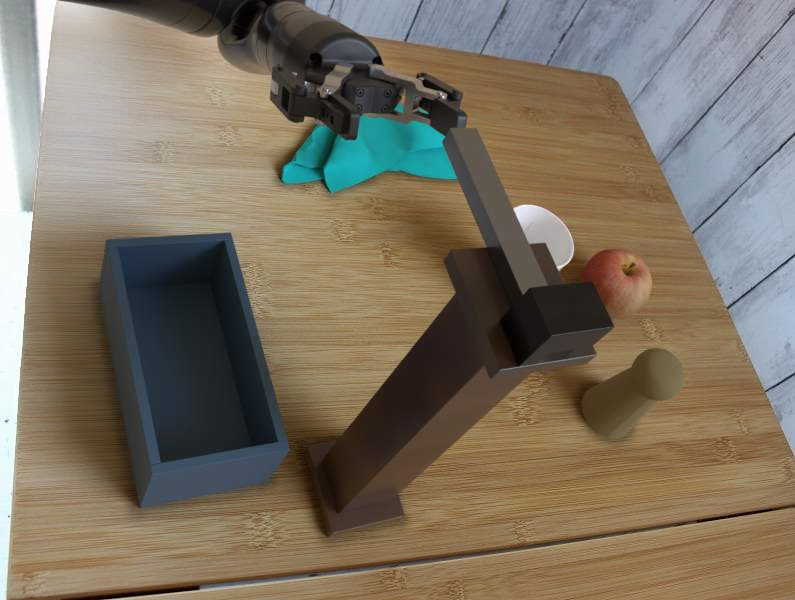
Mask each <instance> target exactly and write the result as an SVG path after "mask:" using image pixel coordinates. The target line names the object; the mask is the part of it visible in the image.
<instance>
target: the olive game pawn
mask: <svg viewBox="0 0 795 600" xmlns="http://www.w3.org/2000/svg"><path fill="white" fill-rule="evenodd" d="M685 383H686V371H685V367H684V365H683V363H682V362H681V361H680V360H679V358H678V357H677V355H675V354H674V353H672V352H671V351H669V350H668V349H665V348H660V347H653V348H648V349H645V350H643V351H642V352H640V353H639V354H638V355H637V356H636V358H635V359H634V360H633V362H632V363H631V366H630V367H629V368H626V369H625V370H622V371H621V372H619V373H617V374H615V375H613V376H610V377H609V378H607V379H605V380H603V381H601V382H599V383H598V384H596V385H594V386H591V387H590V388H589V389H587V390H586V391H585V392H584V393H583V395H582V397H581V402H580V406H581V413H582V415H583V418H584V420H585V422H586V423H587V424H588V426H589V427H590V428H591V429H592V430H593V431H594V432H595V433H596V434H598V435H600V436H601V437H603V438H605V439H611V440H615V439H621V438H622V437H624V436H625V435H627V433H629V432H630V430H632V428H634V427H635V426H636V425H637V424H638V422H640V421H641V420H642V419H643V418H644V417H645V416H646V415H647V414H648V413H649V412H650V411H651V410H652V409H653V407H655V406H656V405H657V403H658V402H662V401H663V402H664V401H668V400H671V399H673V398H674V397H676V396H677V395H678V394H680V393H681V391H682V390H683V389H684V386H685Z"/></svg>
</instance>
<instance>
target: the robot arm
mask: <svg viewBox="0 0 795 600" xmlns="http://www.w3.org/2000/svg"><path fill="white" fill-rule="evenodd" d="M57 1H59V2H65V3H70V4H72V3H73V4H77V5H82V6H83V5H84V6H89V7H95V8H101V9H104V10H109V11H115V12H118V13H122V14H127V15H130V16H133V17H137V18H140V19H143V20H146V21H149V22H153V23H155V24H158V25H161V26H164V27H166V28H170V29H173V30H176V31H179V32H181V33H182V32H183V33H186V34H188V35H192V36H194V37H200V38H212V37H215V36H216V44H217V49H218V51H219V54H220V56H221V57H222V58H223V59H224V60H225V61H226V62H227V63H228V64H230V65H231V66H233V67H234V68H236V69H238V70H240V71H244V72H246V73H249V74H254V75H259V76H271V78H270V90H269V101H270V102H271V103H273V105H274V107H276V108H277V109H278V111H279V112H280V113H281V114H282V115H283V116H284V117H285V119H286V120H287V121H289V122H292V123H294V124H299V123H303V122H305V118H306V117H307V118H313V124H316V125H317V124H318V125H320V126H328V128H330V129H331V130H332V131H333V132H335V133H337V134H338V135H340V136H341V137H342V138H343V139H344V140H356V139H357V136H358V128H359V121H360V117H361V116H362V115H364V116H368V117H371V118H377V117H382V118H385V119H389V120H392V121H395V122H399V123H402V124H409V123H411V122H413V121H417V122H421V123H424V124H428V125H430V126H431V127H432V128H434V129H435V130H436V131H438V132H439V133H441V134H442V135H444V136H446V134H447V133H448V131H449V130H450V128H467V123H468V117H469V116H468V114H467V113H466V112H465V111H464V110H463V109H462V108H461V103H462V100H463V97H464V92H462V91H461V90H459V89H457V88H456V87H454V86H452V85H449V83H446V82H445V81H442V80H440V79H439V78H437V77H435V76H433V75H432V74H430V73H427V72H425V71H421V72H417V73H416V76H415V77H413V76H409V75H405V74H402V73H398V72H395V71H392V70H391V68H390V67H388V66H385V64H384V61H383V59H382V56H381V53H380V52H379V50H378V49H377V47H376V46H375V45H374V44H373V42H372V41H371V40H369V39H368V38H367V37H365V36H364V35H362V34H360V33H359V32H357V31H355V30H353V28H350V27H348V26H347V25H345V24H343V23H342V22H340V21H338V20H337V19H335V18H333V17H331V16H328V15H326V14H322V13H319V12H318V11H315V10H314V9H313V8H311V7H310V6H307V0H57ZM403 97H404V102H403V103H404V104H403V106H404V109H403V113H402V112H399V111H396V110H394V109H395V108H396V107H397V105H398V104H400V102H401V101H402V99H403ZM419 109H421V110H423V111H425V112H428V114H426V113H423V112H420V111H419Z"/></svg>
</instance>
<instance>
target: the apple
mask: <svg viewBox="0 0 795 600" xmlns="http://www.w3.org/2000/svg"><path fill="white" fill-rule="evenodd" d="M587 281H593V282H594V284H595V287H596V289H597V291H598V293H599V295H600V297H601V299H602V301H603V303H604V305H605V307H606V309H607V312H608V314H609V316H610V318H611V319H612V320H615V319H616V320H617V319H618V320H619V319H620V320H621V319H624V318H625V319H626V318H628V317H631V316H633V315H635V314H636V313H637V312H639V311H640V310H642V308H643V307H644V306H645V305H646V304H647V302H648V300H649V298H650V296H651V293H652V289H653V279H652V275H651V272H650V270H649V268H648V266H647V265H646V264H645V262H644V261H643V259H642V258H641V257H640V256H639V255H637V254H636V253H634V252H633V251H630V250H629V249H628V250H627V249H622V248H609V249H603V250H601V251H598V252H596V253H595V254H593V256H591V258H590V259H589V260H588V261H587V263H586V264H585V266H584V267H583V269H582V271H581V274H580V279H579V282H587Z"/></svg>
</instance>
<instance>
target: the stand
mask: <svg viewBox="0 0 795 600" xmlns="http://www.w3.org/2000/svg"><path fill="white" fill-rule="evenodd" d="M529 245H530V247H531V249H532V251H533V253H534V256H535V258H536V260H537V262H538V265H539V267H540V269H541V271H542V273H543V276H544V278H545V280H546V282H547V284H548V286H549V285H559V284H565V281H564V280H563V276H562V275H561V273H560V271H558V268H557V266H556V264H555V262H554V260H553V258H552V255H551V253H550V251H549V249H548V247H547V245H546V243H534V244H529ZM443 264H444V267H445V269H446V272H447V274H448V277H449V280H450V282H451V284H452V287H453V290H454V292H455V293H454V294H453V296H452V297H451V298H450V300H448V301H447V303H446V304H445V306H444V307H443V308H442V310H440V312H439V313H438V314H437V316H435V318H434V319H433V321H432V322H431V323H430V324H429V325H428V327H427V328H426V329H425V330H424V331H423V333H422V335H420V336H419V338H418V339H417V341H416V342H415V343H414V344H413V345H412V347H411V348H410V349H409V351H408V352H407V353H406V354H405V355H404V357H403V358H402V359H401V360H400V362H399V363H398V364H397V366H396V367H395V368H394V369H393V371H392V372H391V373H390V375H388V377H386V379H385V381H384V382H383V383H382V384H381V386H379V388H378V389H377V391H376V392H375V393H374V394H373V395H372V397H371V398H370V400H369V401H367V403H366V404H365V406H363V408H362V409H361V410H360V411H359V413H358V414H357V416H356V417H354V419H353V421H352V422H351V423H350V424H349V426H348V427H347V428H346V429H345V430H344V432H343V433H342V434H341V436H340V437H339V438H338V439H335V440H330V441H329V440H328V441H324V442H318V443H313V444H307V445H306V446H305V447H304V449H303V452H304V456H305V459H306V463H307V467H308V471H309V474H310V477H311V482H312V485H313V488H314V492H315V495H316V499H317V502H318V507H319V510H320V514H321V516H322V521H323V525H324V528H325V531H326V535H327V538H329V539H330V538H332V537H337V536H343V535H345V534H346V535H347V534H349V533H354V532H358V531H362V530H366V529H371V528H374V527H378V526H383V525H386V524H391V523H395V522H399V521H401V520H402V519H403V518H405V517H406V514H405V511H404V508H403V505H402V502H401V499H400V496H399V494H401V492H403V491H404V490H405V489H407V487H408V486H410V485H411V483H413V482H414V481H415V480H416V479H417V478H418V477H419V476H421V474H422V473H424V472H425V471H426V470H427V469H428V468H429V467H430V466H431V465H432V464H434V463H435V462H436V461H437V460H438V459H439V458H440V457H441V456H442V455H443V454H444V453H446V452H447V451H448V450H449V449H450V448H451V447H452V446H454V444H456V443H457V442H458V441H459V440H460V439H461V438H462V437H463V436H464V435H465V434H466V433H468V432H469V431H470V430H472V428H473V427H474V426H475V425H476V424H477V423H478V422H480V421H481V420H482V419H483V418H484V417H485V416H486V415H487V414H488V413H489V412H491V411H492V410H493V409H494V408H495V407H496V406H497V405H499V403H500V402H501V401H503V400H504V399H505V398H506V397H507V396H509V394H511V392H512V391H514V390H515V389H516V388H517V387H518V386H519V385H520V384H522V382H524V381H525V380H526V379H527V378H528V377H529V376H531V374H535V373H541V372H545V371H552V370H560V369H565V368H570V367H577V366H584V365H588V364H589V363H590V362H591V361H593V360H594V359H595V358H596V357H597V356H598V354H597V351H596V349H595V347H594V345H593V346H592V347H591V348H590V349H589V350H587V351H586V352H585V353H584V354H583V355H582V356H581V357H576V358H570V359H563V360H557V361H551V362H545V363H538V364H532V365H526V366H518V364H517V361H516V359H515V357H514V354H513V352H512V349H511V347H510V344H509V342H508V340H507V337H506V335H505V332H504V330H503V328H502V325H501V323H500V319H501V318H502V317H503V316H504V315H505V314H506V313H507V312H508V310H509V309H510V308H511V307H512V306H511V304H510V301H509V299H508V297H507V294H506V292H505V290H504V287H503V285H502V282H501V280H500V278H499V275H498V273H497V271H496V268H495V266H494V264H493V261H492V259H491V257H490V254H489V252H488V250H487V247H485V246H484V247H483V246H481V247H469V248H467V247H466V248H456V249H450V250H449V251H448V253H447V254H446V256H444V258H443Z"/></svg>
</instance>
